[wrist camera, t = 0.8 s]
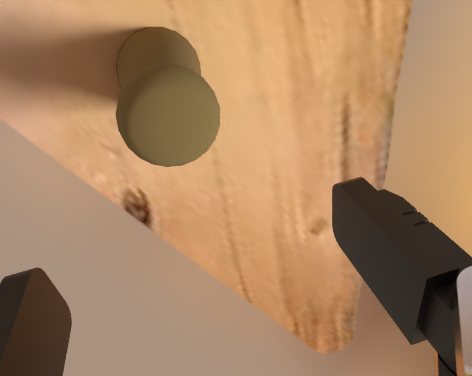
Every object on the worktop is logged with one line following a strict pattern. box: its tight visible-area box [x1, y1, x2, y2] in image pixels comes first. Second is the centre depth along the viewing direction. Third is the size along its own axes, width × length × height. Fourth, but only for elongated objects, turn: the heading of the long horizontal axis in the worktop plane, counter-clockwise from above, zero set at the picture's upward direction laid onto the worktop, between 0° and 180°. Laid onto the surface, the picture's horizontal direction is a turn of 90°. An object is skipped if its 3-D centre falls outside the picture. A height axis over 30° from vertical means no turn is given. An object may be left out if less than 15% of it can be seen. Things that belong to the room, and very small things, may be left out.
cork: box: [116, 27, 220, 167], centre depth 21 cm, size 6×6×11 cm
